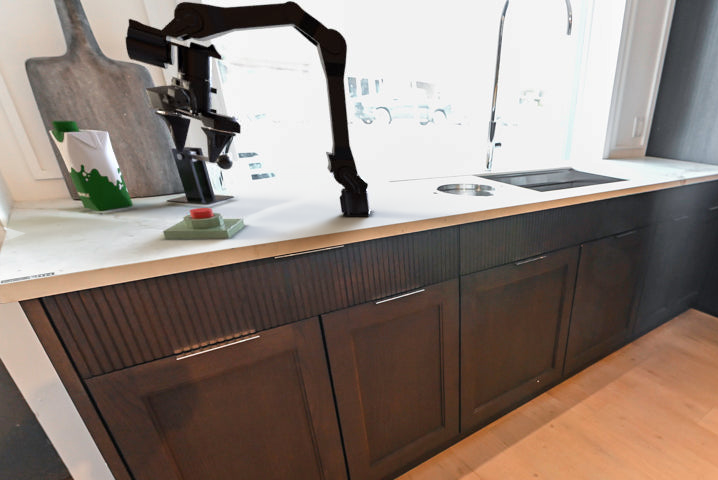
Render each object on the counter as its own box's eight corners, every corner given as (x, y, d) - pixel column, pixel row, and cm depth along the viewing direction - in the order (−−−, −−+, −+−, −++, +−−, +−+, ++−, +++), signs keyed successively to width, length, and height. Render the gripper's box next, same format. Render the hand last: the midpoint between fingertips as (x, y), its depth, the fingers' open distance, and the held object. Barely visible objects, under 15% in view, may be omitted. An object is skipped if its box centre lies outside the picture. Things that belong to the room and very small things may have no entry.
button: (217, 215, 94) (214, 207, 93) (209, 220, 90) (207, 212, 89) (196, 216, 93) (194, 207, 92) (188, 220, 89) (186, 212, 89)
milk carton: (79, 211, 104) (39, 120, 95) (121, 204, 112) (88, 119, 102) (99, 216, 101) (60, 122, 92) (141, 208, 109) (109, 121, 99)
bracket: (234, 200, 121) (221, 147, 114) (208, 207, 112) (192, 151, 105) (196, 197, 122) (180, 145, 115) (167, 204, 113) (149, 148, 107)
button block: (244, 226, 98) (240, 210, 97) (229, 238, 90) (224, 221, 88) (187, 226, 96) (182, 211, 94) (165, 239, 88) (159, 222, 86)
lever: (236, 169, 113) (234, 155, 111) (227, 171, 110) (224, 156, 108) (190, 161, 114) (187, 146, 112) (179, 162, 111) (176, 148, 109)
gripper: (117, 55, 82) (123, 141, 87) (191, 77, 78) (192, 165, 84) (175, 71, 92) (177, 147, 97) (243, 91, 88) (241, 169, 94)
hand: (195, 157), depth 93 cm, fingers open, 9 cm apart
